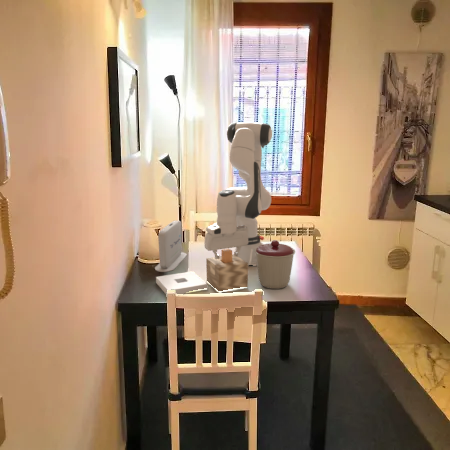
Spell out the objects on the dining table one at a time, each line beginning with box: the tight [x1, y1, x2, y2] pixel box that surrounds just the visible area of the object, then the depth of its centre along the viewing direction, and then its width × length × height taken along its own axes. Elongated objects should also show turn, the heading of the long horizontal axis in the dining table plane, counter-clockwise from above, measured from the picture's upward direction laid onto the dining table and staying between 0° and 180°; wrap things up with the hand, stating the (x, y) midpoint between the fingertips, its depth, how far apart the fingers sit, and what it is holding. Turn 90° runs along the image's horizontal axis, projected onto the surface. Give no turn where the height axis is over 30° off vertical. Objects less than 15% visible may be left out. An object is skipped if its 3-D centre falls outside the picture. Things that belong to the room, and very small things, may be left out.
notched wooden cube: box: [205, 253, 249, 291], centre depth 208 cm, size 14×14×12 cm
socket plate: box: [155, 270, 208, 295], centre depth 208 cm, size 18×18×3 cm
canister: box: [255, 239, 296, 290], centre depth 208 cm, size 18×18×21 cm
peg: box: [220, 248, 233, 263], centre depth 206 cm, size 4×4×10 cm
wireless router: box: [154, 220, 187, 273], centre depth 240 cm, size 31×10×20 cm, turn 168°
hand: (226, 257), depth 206 cm, fingers open, 8 cm apart
